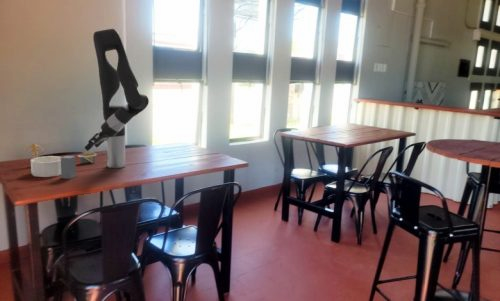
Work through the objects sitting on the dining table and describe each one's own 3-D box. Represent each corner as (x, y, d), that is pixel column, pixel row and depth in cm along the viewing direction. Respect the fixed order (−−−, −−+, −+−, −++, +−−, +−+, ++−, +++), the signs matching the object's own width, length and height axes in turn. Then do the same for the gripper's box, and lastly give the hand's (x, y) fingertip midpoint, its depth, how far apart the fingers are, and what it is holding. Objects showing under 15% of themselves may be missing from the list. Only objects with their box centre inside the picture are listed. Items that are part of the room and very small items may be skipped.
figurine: (27, 168, 196) (26, 145, 193) (25, 165, 200) (24, 142, 198) (45, 166, 201) (44, 143, 198) (43, 163, 205) (41, 141, 203)
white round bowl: (43, 168, 196) (42, 155, 194) (69, 170, 195) (68, 157, 193) (25, 175, 182) (24, 161, 181) (53, 177, 181) (52, 163, 180)
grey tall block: (66, 175, 186) (66, 155, 184) (76, 176, 186) (75, 156, 184) (61, 178, 181) (60, 157, 179) (70, 178, 181) (69, 158, 179)
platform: (108, 163, 214) (108, 152, 213) (75, 168, 202) (74, 156, 200) (99, 159, 222) (99, 148, 221) (67, 163, 210) (66, 151, 209)
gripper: (115, 117, 183) (92, 139, 186) (100, 120, 169) (77, 144, 172) (125, 128, 183) (103, 150, 187) (112, 133, 170) (88, 156, 173)
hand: (90, 147), depth 179 cm, fingers open, 8 cm apart
